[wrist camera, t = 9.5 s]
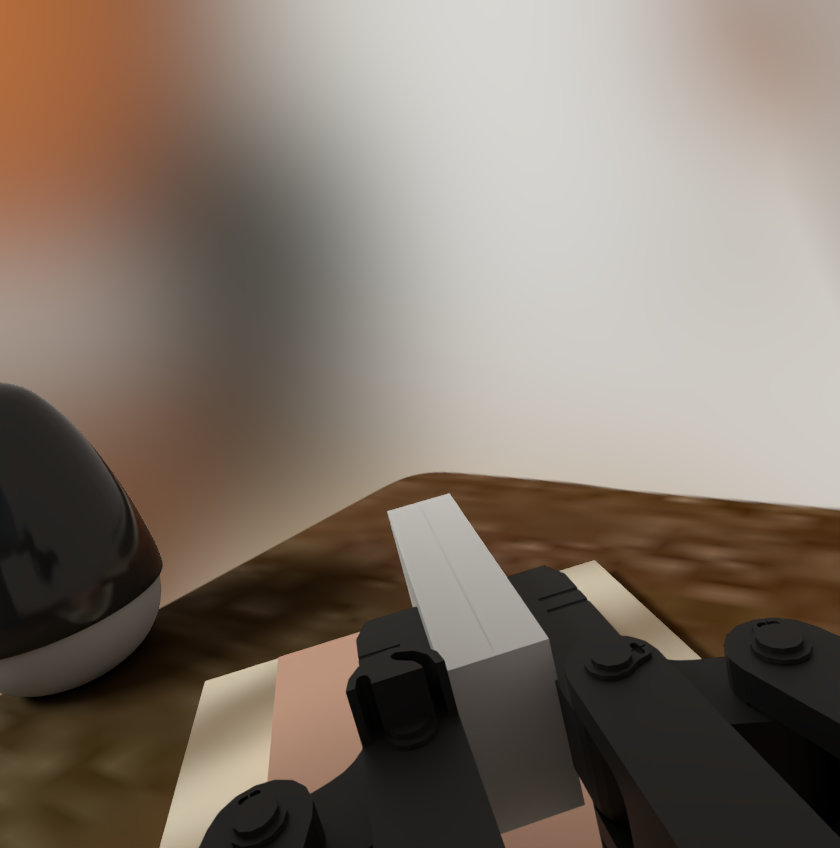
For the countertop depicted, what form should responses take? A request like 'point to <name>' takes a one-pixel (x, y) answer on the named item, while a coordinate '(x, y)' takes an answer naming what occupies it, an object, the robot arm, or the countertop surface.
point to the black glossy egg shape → (66, 555)
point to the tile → (340, 743)
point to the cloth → (254, 704)
